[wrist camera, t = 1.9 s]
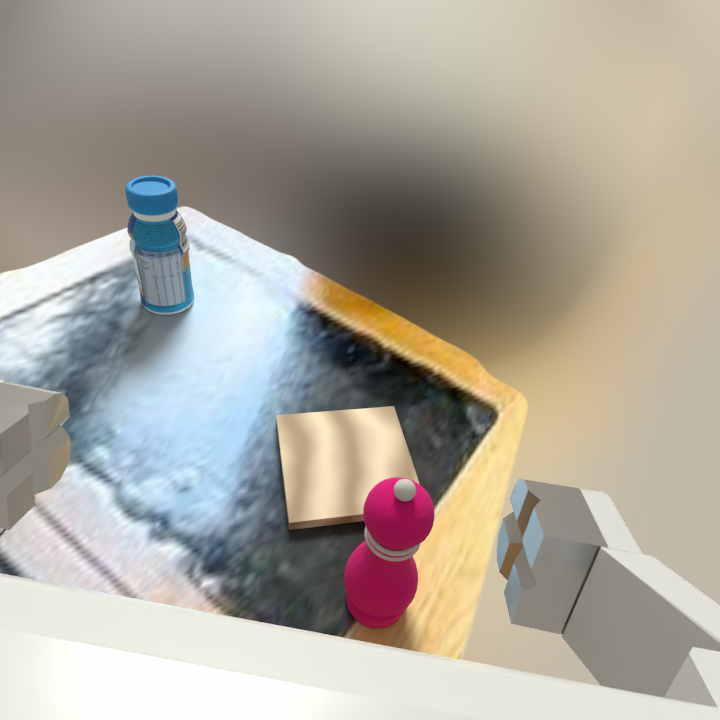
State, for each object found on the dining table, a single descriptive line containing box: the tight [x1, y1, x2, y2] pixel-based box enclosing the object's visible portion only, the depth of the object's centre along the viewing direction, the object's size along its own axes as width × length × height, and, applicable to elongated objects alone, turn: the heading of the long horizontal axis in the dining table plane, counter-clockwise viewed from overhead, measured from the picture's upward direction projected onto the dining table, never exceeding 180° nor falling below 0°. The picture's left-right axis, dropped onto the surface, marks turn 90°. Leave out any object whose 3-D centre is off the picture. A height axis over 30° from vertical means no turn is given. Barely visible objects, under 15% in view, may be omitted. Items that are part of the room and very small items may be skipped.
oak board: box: [276, 406, 420, 530], centre depth 69 cm, size 16×16×2 cm
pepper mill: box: [344, 477, 434, 628], centre depth 51 cm, size 7×7×20 cm
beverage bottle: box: [126, 176, 194, 315], centre depth 84 cm, size 8×8×20 cm
